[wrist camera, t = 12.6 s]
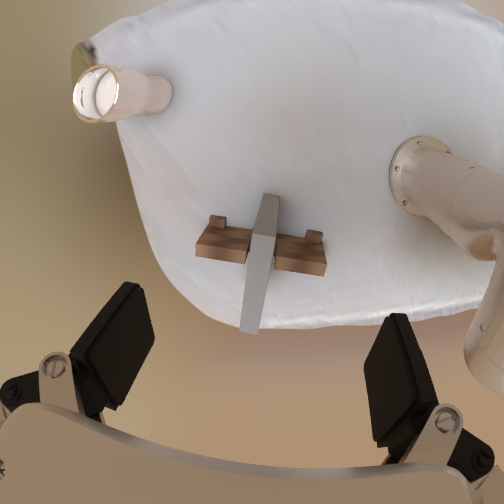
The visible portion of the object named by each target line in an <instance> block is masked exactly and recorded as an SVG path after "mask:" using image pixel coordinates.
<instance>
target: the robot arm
mask: <svg viewBox="0 0 504 504" xmlns="http://www.w3.org/2000/svg"><path fill="white" fill-rule="evenodd" d="M417 141H418V144H417ZM395 166H396V169H395ZM389 180H390V187H391V191H392V193H393V195H394V198H395V199H396V201H397V202H398V203H399V205H400V206H401V207H402V208H404V209H405V210H406V211H407V212H409V213H411V214H413V215H417V216H427V217H428V218H429V219H430V220H431V221H433V222H434V223H435V224H436V225H437V226H438V227H439V228H440V229H441V230H442V231H443V232H444V233H445V234H446V235H447V236H448V237H449V238H450V239H451V240H452V241H453V242H454V243H455V244H456V245H457V246H458V247H459V248H460V249H461V250H462V251H463V252H464V253H466V254H467V255H468V256H470V257H471V258H474V259H476V260H480V261H493V260H496V265H495V268H494V271H493V274H492V277H491V279H490V283H489V286H488V288H487V291H486V293H485V295H484V298H483V300H482V302H481V304H480V306H479V309H478V311H477V313H476V315H475V317H474V320H473V322H472V324H471V326H470V328H469V331H468V333H467V336H466V339H465V343H464V358H465V362H466V364H467V367H468V369H469V371H470V372H471V374H472V375H473V376H474V377H475V379H476V380H477V381H478V382H480V383H481V384H482V385H483V386H484V387H486V388H488V389H489V390H491V391H492V392H494V393H496V394H498V395H500V396H502V397H504V177H503V176H501V175H499V174H496V173H494V172H492V171H490V170H488V169H485V168H483V167H481V166H479V165H476V164H474V163H471V162H469V161H467V160H464V159H462V158H459V157H456V156H454V155H453V154H452V152H451V151H450V150H449V148H448V147H447V146H446V145H445V144H444V143H442V142H441V141H439V140H437V139H435V138H432V137H426V136H419V137H415V138H412V139H410V140H408V141H406V142H405V143H404V144H403V145H402V146H400V147H399V149H398V150H397V152H396V153H395V155H394V157H393V159H392V162H391V166H390V173H389ZM403 201H404V202H403ZM154 339H155V336H154V332H153V327H152V324H151V320H150V316H149V312H148V307H147V303H146V298H145V294H144V290H143V288H141V287H140V285H139V284H137V283H132V282H124V283H123V284H122V285H121V287H120V288H119V289H118V290H117V291H116V292H115V294H114V295H113V296H112V297H111V298H110V300H109V301H108V302H107V303H106V305H105V306H104V307H103V308H102V310H101V311H100V312H99V313H98V315H97V316H96V317H95V318H94V320H93V321H92V322H91V324H90V325H89V326H88V327H87V329H86V330H85V331H84V333H83V334H82V335H81V337H80V338H79V340H78V341H77V342H76V343H75V345H74V346H73V347H72V349H71V350H70V352H71V353H70V354H69V355H67V354H65V353H63V352H53V353H50V354H48V355H47V356H46V357H44V358H43V360H42V361H41V363H40V365H39V370H38V371H35V372H32V373H28V374H25V375H22V376H18V377H15V378H12V379H9V380H7V381H6V382H5V383H4V384H3V385H2V387H1V389H0V504H504V473H503V472H502V470H501V469H500V468H499V466H498V465H496V466H494V459H495V456H494V452H493V450H492V448H491V447H490V446H489V445H487V444H485V443H484V442H483V441H481V440H480V439H478V438H477V437H475V436H474V435H472V434H471V433H469V432H468V431H466V430H465V429H464V428H462V427H463V417H462V415H461V412H460V411H459V410H458V409H457V408H456V407H455V406H453V405H451V404H445V403H444V404H440V405H439V403H438V400H437V396H436V392H435V389H434V386H433V383H432V380H431V377H430V374H429V371H428V368H427V365H426V362H425V359H424V357H423V354H422V351H421V349H420V348H419V345H418V343H417V340H416V337H415V335H414V333H413V330H412V327H411V325H410V322H409V320H408V317H407V315H406V314H404V313H391V314H390V315H389V317H388V316H387V317H386V318H385V319H384V322H383V324H382V326H381V329H380V331H379V333H378V335H377V338H376V340H375V342H374V344H373V346H372V348H371V350H370V352H369V355H368V356H367V359H366V361H365V363H364V374H365V380H366V387H367V394H368V400H369V408H370V416H371V425H372V434H373V439H374V441H377V447H378V448H381V447H388V453H389V455H388V456H387V457H386V458H385V460H384V461H383V463H382V464H381V465H379V466H368V467H352V468H319V469H318V468H289V467H274V466H265V465H255V464H247V463H240V462H234V461H228V460H222V459H217V458H212V457H207V456H202V455H198V454H194V453H189V452H186V451H182V450H177V449H174V448H170V447H166V446H163V445H160V444H157V443H154V442H150V441H148V440H145V439H141V438H139V437H136V436H133V435H130V434H128V433H125V432H122V431H120V430H117V429H114V428H112V427H109V426H107V425H106V423H105V420H104V417H103V413H102V411H103V409H104V407H107V408H110V409H112V410H115V411H116V409H117V407H118V405H119V406H120V405H122V404H123V402H124V400H125V398H126V396H127V394H128V392H129V390H130V388H131V386H132V384H133V382H134V380H135V378H136V376H137V374H138V372H139V370H140V368H141V366H142V364H143V363H144V361H145V359H146V357H147V355H148V353H149V351H150V349H151V347H152V346H153V343H154Z"/></svg>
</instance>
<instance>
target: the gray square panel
mask: <svg viewBox="0 0 504 504" xmlns="http://www.w3.org/2000/svg"><path fill="white" fill-rule="evenodd" d="M279 200H280V197H279V196H273V195H267V194H263V198H262V201H261V205H260V208H259V212H258V215H257V219H256V222H255V226H254V229H253V233H252V239H251V246H250V254H249V261H248V269H247V276H246V283H245V291H244V298H243V306H242V313H241V321H240V328H239V332H244V333H250V334H255V335H257V334H258V329H259V324H260V319H261V314H262V309H263V304H264V299H265V294H266V288H267V283H268V278H269V272H270V267H271V262H272V256H273V251H274V245H275V240H276V231H277V221H278V211H279Z"/></svg>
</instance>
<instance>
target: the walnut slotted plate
mask: <svg viewBox="0 0 504 504" xmlns="http://www.w3.org/2000/svg"><path fill="white" fill-rule="evenodd" d="M252 233H253V230H249V229H242V228H235V227H229V226H226V217H221V216H214V215H211V216H210V218H209V224H208V226H207V227H206V229H205V230H204V232H203V233H202V235H201V236H200V238H199V239H198V241H197V242H196V256H198V257H204V258H210V259H216V260H222V261H228V262H234V263H241V264H245V262H246V258H247V255H248V252H250V246H251V239H252ZM322 237H323V233H322V232H317V231H311V230H307V233H306V238H299V237H293V236H287V235H281V234H276V240H275V245H274V251H273V256H275V263H274V269H278V270H285V271H291V272H298V273H304V274H311V275H317V276H324V273H325V270H326V267H327V261H326V257H325V252H324V248H323V243H322Z"/></svg>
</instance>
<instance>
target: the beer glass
mask: <svg viewBox="0 0 504 504" xmlns="http://www.w3.org/2000/svg"><path fill="white" fill-rule="evenodd" d="M172 96H173V89H172V86H171V84H170V82H169V81H168V80H167V79H166V78H164V77H162V76H150V77H149V76H147V75H145V74H144V73H142V72H140V71H138V70H136V69H134V68H131V67H127V66H120V65H95V66H92V67H90V68H89V69H87V70H86V71H85V72H84V73H83V74H82V75H81V76H80V78H79V79H78V81H77V83H76V85H75V88H74V92H73V106H74V110H75V112H76V114H77V116H78V117H79V118H80V119H81V120H83V121H85V122H88V123H95V122H112V121H119V120H123V119H126V118H129V117H132V116H134V115H137V114H139V113H141V112H145V113H149V114H155V113H159V112H161V111H163V110H164V109H165V108H166V107H167V106H168V105H169V103H170V102H171V99H172Z"/></svg>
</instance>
